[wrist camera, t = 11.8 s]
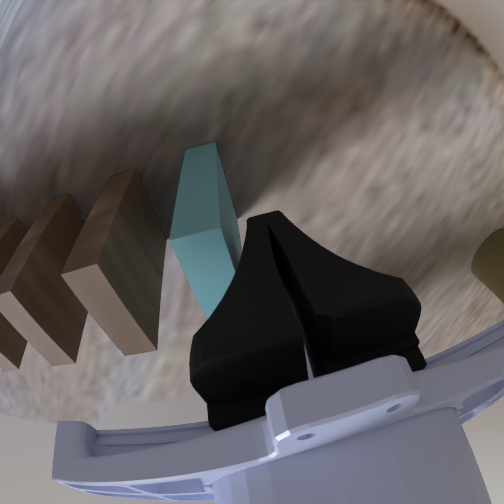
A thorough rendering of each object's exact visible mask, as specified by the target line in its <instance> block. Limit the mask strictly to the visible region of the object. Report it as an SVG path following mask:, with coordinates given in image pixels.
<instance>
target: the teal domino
mask: <svg viewBox="0 0 504 504" xmlns="http://www.w3.org/2000/svg"><path fill="white" fill-rule="evenodd" d="M169 241H170V243H171V245H172V248H173V250H174V252H175V254H176V256H177V259H178V261H179V263H180V265H181V267H182V269H183V271H184V273H185V276H186V278H187V280H188V282H189V284H190V286H191V288H192V290H193V292H194V294H195V296H196V298H197V300H198V302H199V304H200V306H201V309H202V311H203V313H204V315H205V316H206V318H207V319H208V318H209V317H210V316H211V314H212V313H213V311H214V310H215V308H216V307H217V305H218V304H219V302H220V301H221V299H222V297H223V296H224V294H225V292H226V290H227V288H228V286H229V285H230V283H231V280H232V278H233V276H234V274H235V271H236V269H237V266H238V263H239V260H240V257H241V254H242V246H241V240H240V234H239V227H238V221H237V217H236V213H235V210H234V206H233V203H232V199H231V196H230V192H229V189H228V185H227V182H226V178H225V175H224V171H223V167H222V164H221V160H220V157H219V153H218V150H217V146H216V143H215V142H212V143H209V144H205V145H201V146H198V147H194V148H191V149H187V150H185V155H184V159H183V164H182V170H181V175H180V180H179V185H178V191H177V196H176V202H175V208H174V214H173V220H172V226H171V233H170V239H169Z"/></svg>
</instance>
